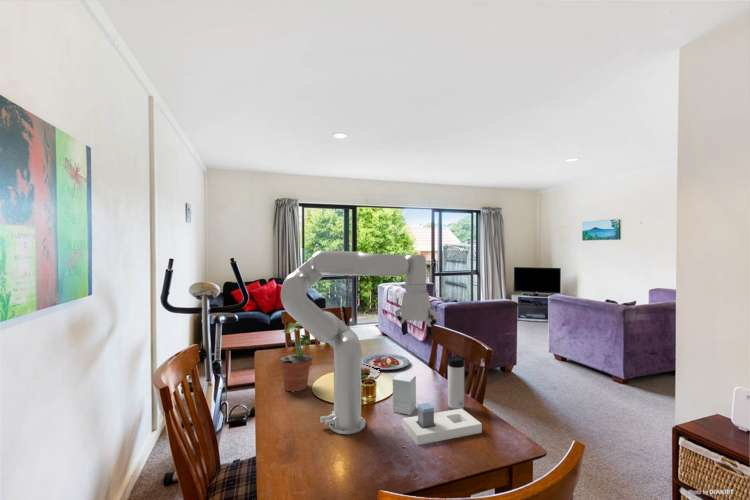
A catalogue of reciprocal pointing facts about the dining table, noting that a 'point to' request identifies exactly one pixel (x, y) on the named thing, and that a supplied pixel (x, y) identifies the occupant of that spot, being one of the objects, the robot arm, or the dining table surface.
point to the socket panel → (442, 426)
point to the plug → (425, 415)
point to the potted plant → (296, 363)
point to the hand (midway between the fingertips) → (417, 335)
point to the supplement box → (404, 393)
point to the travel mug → (456, 382)
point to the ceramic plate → (386, 361)
